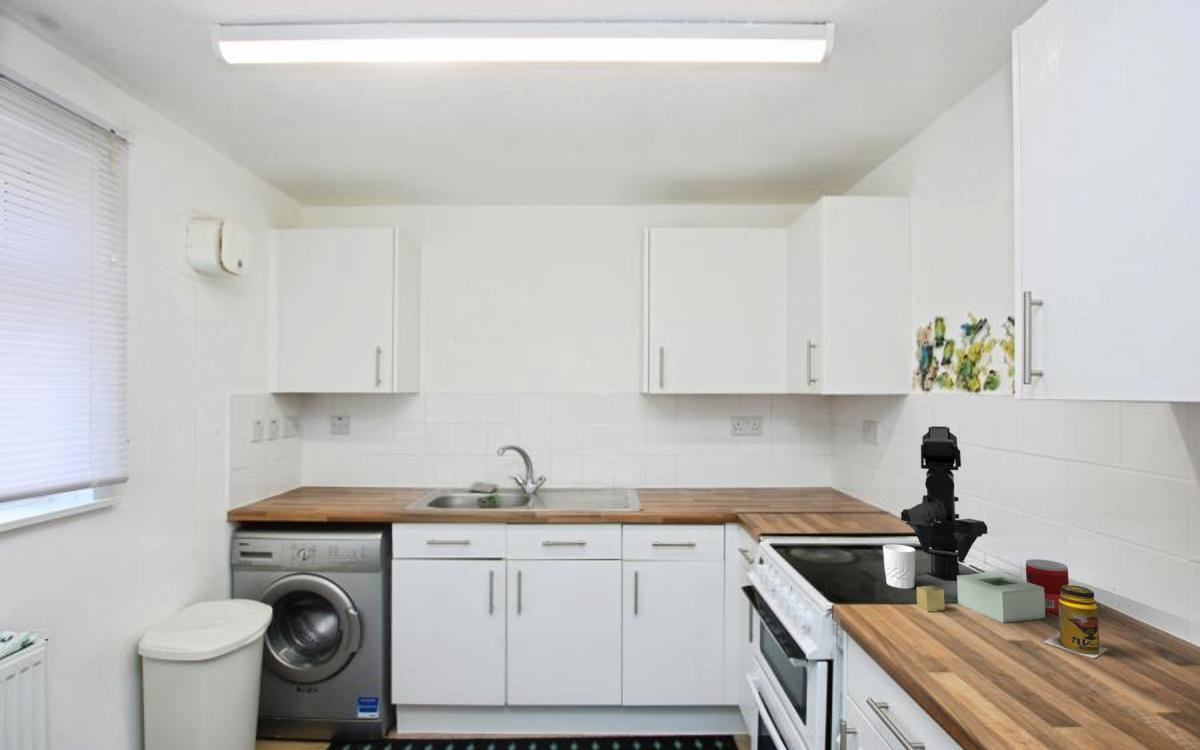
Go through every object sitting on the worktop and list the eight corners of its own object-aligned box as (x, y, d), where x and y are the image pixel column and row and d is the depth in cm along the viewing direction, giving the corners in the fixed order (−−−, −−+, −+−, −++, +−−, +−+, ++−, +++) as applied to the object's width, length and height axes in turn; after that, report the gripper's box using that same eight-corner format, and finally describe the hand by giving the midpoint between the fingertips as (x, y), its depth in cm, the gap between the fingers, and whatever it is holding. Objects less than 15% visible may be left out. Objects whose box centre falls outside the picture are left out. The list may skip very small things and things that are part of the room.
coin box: (958, 604, 136) (956, 575, 136) (997, 600, 139) (996, 572, 139) (1003, 623, 124) (1002, 591, 125) (1045, 618, 127) (1044, 587, 127)
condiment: (1094, 659, 107) (1091, 596, 108) (1042, 643, 114) (1039, 584, 115) (1108, 650, 111) (1105, 589, 111) (1056, 635, 118) (1054, 578, 119)
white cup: (891, 578, 156) (890, 542, 157) (921, 585, 150) (920, 548, 151) (878, 584, 151) (877, 547, 152) (909, 591, 145) (908, 553, 146)
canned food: (1078, 616, 128) (1076, 568, 129) (1044, 615, 128) (1041, 568, 129) (1052, 604, 136) (1050, 559, 137) (1019, 604, 136) (1017, 559, 137)
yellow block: (917, 607, 134) (916, 587, 134) (934, 606, 135) (933, 585, 135) (927, 612, 131) (926, 591, 131) (944, 610, 132) (943, 589, 132)
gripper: (883, 488, 140) (885, 550, 139) (952, 499, 123) (955, 571, 122) (916, 486, 144) (918, 546, 143) (987, 497, 126) (990, 566, 125)
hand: (942, 557), depth 133 cm, fingers open, 9 cm apart
